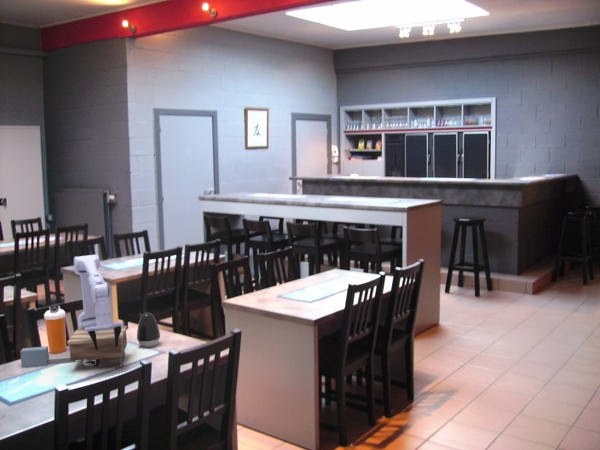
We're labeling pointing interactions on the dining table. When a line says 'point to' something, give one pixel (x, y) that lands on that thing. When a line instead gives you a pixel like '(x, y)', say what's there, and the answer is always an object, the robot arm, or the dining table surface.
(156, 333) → the black egg-shaped piece
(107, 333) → the cabinet
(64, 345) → the shaker bottle
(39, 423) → the dining table surface
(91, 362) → the steel token
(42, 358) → the grey block with tab
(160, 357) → the dining table surface
